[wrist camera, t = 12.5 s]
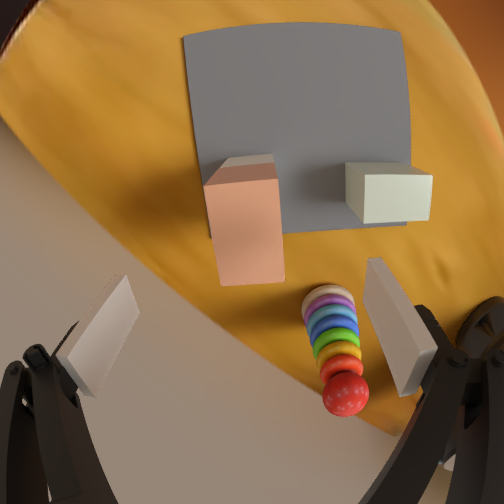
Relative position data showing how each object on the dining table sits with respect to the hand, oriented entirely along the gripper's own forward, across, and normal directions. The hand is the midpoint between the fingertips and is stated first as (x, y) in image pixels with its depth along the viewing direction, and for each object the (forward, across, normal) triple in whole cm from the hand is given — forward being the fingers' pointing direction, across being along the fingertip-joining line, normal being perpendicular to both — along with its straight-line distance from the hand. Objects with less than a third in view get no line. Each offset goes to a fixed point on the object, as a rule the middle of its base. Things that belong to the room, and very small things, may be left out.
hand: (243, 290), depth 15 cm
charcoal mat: (+21, -7, -7) cm, 23 cm away
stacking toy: (+21, -9, +18) cm, 29 cm away
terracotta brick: (+13, 0, 0) cm, 13 cm away
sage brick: (+20, -15, 0) cm, 25 cm away
